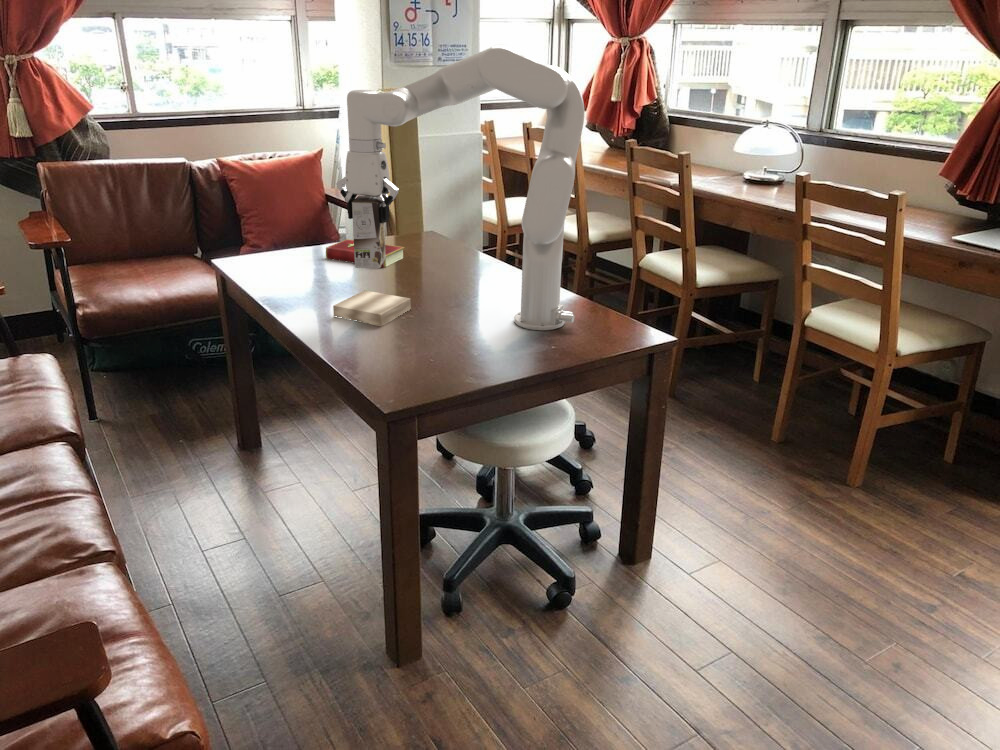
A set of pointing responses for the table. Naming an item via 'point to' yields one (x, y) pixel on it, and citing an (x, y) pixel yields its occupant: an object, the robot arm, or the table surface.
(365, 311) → the birch base
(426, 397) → the table surface
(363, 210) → the coffee box
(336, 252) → the hardcover book
